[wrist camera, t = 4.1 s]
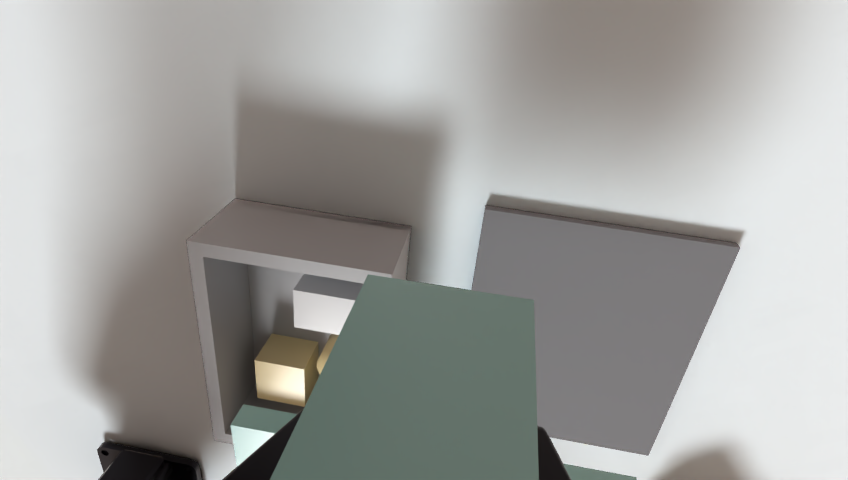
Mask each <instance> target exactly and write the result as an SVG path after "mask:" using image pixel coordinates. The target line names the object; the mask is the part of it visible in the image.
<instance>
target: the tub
mask: <svg viewBox="0 0 848 480" xmlns="http://www.w3.org/2000/svg"><path fill="white" fill-rule="evenodd" d="M410 235H411V226H407V225H400V224H394V223H388V222H381V221H375V220H368V219H362V218H355V217H349V216H343V215H336V214H330V213H323V212H317V211H311V210H304V209H298V208H291V207H285V206H279V205H272V204H266V203H259V202H253V201H247V200H240V199H234V200H233V201H232V202H231V203H229V204H228V205H227V206H226V207H225V208H224V209H222V210H221V211H220V212H219V213H218V214H217V215H215V216H214V217H213V218H212V219H211V220H210V221H208V222H207V223H206V224H205V225H204V226H203V227H201V228H200V229H199V230H198V231H197V232H196V233H194V234H193V235H192V236H191V237H190V238H189V239H187V240H186V243H187V250H188V258H189V265H190V272H191V279H192V286H193V293H194V300H195V307H196V314H197V321H198V329H199V336H200V343H201V350H202V357H203V364H204V371H205V378H206V385H207V392H208V400H209V407H210V414H211V421H212V428H213V435H214V440H215V441H220V442H225V443H230V444H233V439H232V432H231V426H230V425H231V423H232V422H233V420H234V418H235V417H236V415H237V413H238V412H239V410H240V409H241V407H242V405H243V404H245V405H250V406H256V407H261V408H266V409H272V410H277V411H283V412H288V413H293V414H298V413H299V412H300V411H302V410H303V409H304V407H305V405H306V403H307V401H308V399H309V397H310V395H311V393H312V390H313V388H314V386H315V384H316V382H317V380H318V378H319V376H320V374H321V372H322V369H323V367H324V365H325V363H326V361H327V359H328V357H329V355H330V353H331V351H332V349H333V346H334V344H335V342H336V340H337V338H338V336H339V334H340V332H341V330H342V328H343V325H344V323H345V321H346V319H347V317H348V315H349V313H350V311H351V309H352V307H353V305H354V302H355V300H356V298H357V296H358V294H359V292H360V290H361V288H362V286H363V284H364V281H365V279H366V277H367V275H368V274H369V275H376V276H382V277H389V278H395V279H402V280H406V278H407V267H408V257H409V246H410Z"/></svg>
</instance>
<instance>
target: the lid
mask: <svg viewBox="0 0 848 480" xmlns="http://www.w3.org/2000/svg"><path fill="white" fill-rule="evenodd" d="M296 415H297V414H293V413H288V412H283V411H277V410H272V409H266V408H261V407H256V406H250V405H245V404H243V405H242V407H241V409H240V410H239V412H238V413H237V415H236V417H235V418H234V420H233V422H232V423H231V425H230V426H231V432H232V439H233V445H234V451H235V458H236V464H237V466H239V465H240V464H241V463H242V462H243V461H244V460H245V459H247V458H248V457H249V456H250V455H251V454H252V453H253V452H255V451H256V450H257V449H258V448H259V447H260V446H261V445H263V444H264V443H265V442H266V441H267V440H268V439H269V438H271V437H272V436H273V435H274V434H275V433H276V432H277V431H279V430H280V429H281V428H282V427H283V426H284V425H286V424H287V423H288V422H289V421H290V420H291V419H292V418H294V417H295V416H296ZM563 465H564V467H565V469H566V471H567V472H568V474H569V476H570V478H571V480H637V479H636V477H632V476H626V475H621V474H616V473H610V472H605V471H599V470H594V469H589V468H583V467H578V466H573V465H567V464H563ZM270 480H539V467H538V430H537V394H536V357H535V320H534V300H531V299H525V298H518V297H512V296H505V295H499V294H492V293H486V292H479V291H473V290H466V289H460V288H453V287H447V286H440V285H434V284H428V283H421V282H415V281H408V280H402V279H395V278H389V277H382V276H376V275H369V274H368V275H367V277H366V279H365V281H364V284H363V286H362V288H361V290H360V292H359V294H358V296H357V298H356V300H355V302H354V305H353V307H352V309H351V311H350V313H349V315H348V317H347V319H346V321H345V323H344V325H343V328H342V330H341V332H340V334H339V336H338V338H337V340H336V342H335V344H334V346H333V349H332V351H331V353H330V355H329V357H328V359H327V361H326V363H325V365H324V367H323V369H322V372H321V374H320V376H319V378H318V380H317V382H316V384H315V386H314V388H313V390H312V393H311V395H310V397H309V399H308V401H307V403H306V405H305V407H304V409H303V411H302V413H301V416H300V418H299V420H298V422H297V424H296V426H295V428H294V430H293V432H292V434H291V437H290V439H289V441H288V443H287V445H286V447H285V449H284V451H283V453H282V455H281V457H280V460H279V462H278V464H277V466H276V468H275V470H274V472H273V474H272V476H271V478H270Z"/></svg>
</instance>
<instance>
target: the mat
mask: <svg viewBox="0 0 848 480" xmlns="http://www.w3.org/2000/svg"><path fill="white" fill-rule="evenodd" d="M739 249H740V247H739V246H738V244H737V243H733V242H726V241H720V240H713V239H706V238H700V237H693V236H687V235H680V234H673V233H667V232H660V231H653V230H647V229H640V228H633V227H627V226H620V225H613V224H607V223H600V222H593V221H587V220H580V219H574V218H567V217H560V216H554V215H547V214H540V213H534V212H527V211H520V210H514V209H507V208H500V207H494V206H487V205H486V206H485V212H484V218H483V224H482V230H481V236H480V242H479V248H478V254H477V260H476V266H475V272H474V278H473V284H472V290H473V291H479V292H486V293H492V294H499V295H505V296H512V297H518V298H525V299H531V300H534V320H535V357H536V394H537V426H541V427H543V428H544V429H545V430H546V432H547V434H548V436H549V437H552V438H557V439H563V440H568V441H573V442H579V443H584V444H589V445H595V446H600V447H605V448H611V449H616V450H621V451H627V452H632V453H637V454H643V455H649V453H650V451H651V448H652V446H653V444H654V442H655V439H656V437H657V435H658V433H659V430H660V428H661V426H662V424H663V421H664V419H665V417H666V415H667V412H668V410H669V408H670V405H671V403H672V401H673V399H674V396H675V394H676V392H677V390H678V387H679V385H680V383H681V381H682V378H683V376H684V374H685V372H686V369H687V367H688V365H689V362H690V360H691V358H692V356H693V353H694V351H695V349H696V347H697V344H698V342H699V340H700V338H701V335H702V333H703V331H704V329H705V326H706V324H707V322H708V319H709V317H710V315H711V313H712V310H713V308H714V306H715V304H716V301H717V299H718V297H719V295H720V292H721V290H722V288H723V286H724V283H725V281H726V279H727V277H728V274H729V272H730V270H731V267H732V265H733V263H734V261H735V258H736V256H737V254H738V252H739Z"/></svg>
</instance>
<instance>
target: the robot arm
mask: <svg viewBox="0 0 848 480" xmlns="http://www.w3.org/2000/svg"><path fill="white" fill-rule="evenodd" d="M302 411H303V410H302ZM302 411H300V412H299V413H298V414H297V415H296V416H295V417H294V418H292V419H291V420H290V421H289V422H288V423H287V424H286V425H284V426H283V427H282V428H281V429H280V430H279V431H277V432H276V433H275V434H274V435H273V436H272V437H271V438H269V439H268V440H267V441H266V442H265V443H264V444H263V445H261V446H260V447H259V448H258V449H257V450H256V451H255V452H253V453H252V454H251V455H250V456H249V457H248V458H247V459H245V460H244V461H243V462H242V463H241V464H240V465H239V466H237V467H236V468H235V469H234V470H233V471H232V472H230V473H229V474H228V475H227V476H226V477H225V478H224V479H222V480H270V478H271V476H272V474H273V472H274V470H275V468H276V466H277V464H278V462H279V460H280V457H281V455H282V453H283V451H284V449H285V447H286V445H287V443H288V441H289V439H290V437H291V434H292V432H293V430H294V428H295V426H296V424H297V422H298V420H299V418H300V416H301V413H302ZM537 430H538V467H539V480H571V478H570V476H569V474H568V472H567V471H566V469H565V467H564V465H563V463H562V461H561V459H560V457H559V455H558V453H557V451H556V449H555V447H554V445H553V443H552V441H551V439H550V438H549V436H548V434H547V432H546V430H545V429H544V428H543V427H541V426H537ZM97 451H98V455H99V458H100V461H101V465H102V468H103V471H104V473H103V474H102V475H101V477H100V478H99V479H98V480H202V478H201V472H200V466H199V464H198V463H197V462H196V461H194V460H192V459H187V458H183V457H178V456H173V455H168V454H163V453H158V452H153V451H148V450H143V449H138V448H133V447H129V446H124V445H119V444H114V443H109V442H104V443H102V444H101V446H100V447H99V448H98V449H97Z"/></svg>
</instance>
